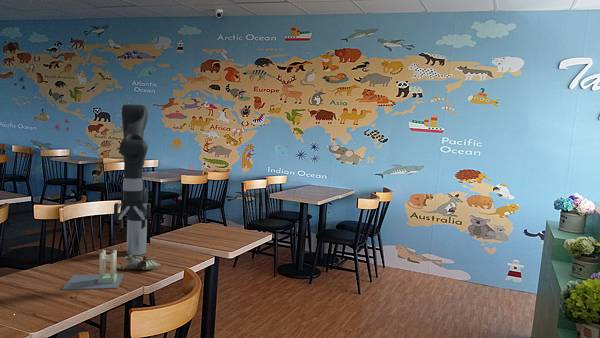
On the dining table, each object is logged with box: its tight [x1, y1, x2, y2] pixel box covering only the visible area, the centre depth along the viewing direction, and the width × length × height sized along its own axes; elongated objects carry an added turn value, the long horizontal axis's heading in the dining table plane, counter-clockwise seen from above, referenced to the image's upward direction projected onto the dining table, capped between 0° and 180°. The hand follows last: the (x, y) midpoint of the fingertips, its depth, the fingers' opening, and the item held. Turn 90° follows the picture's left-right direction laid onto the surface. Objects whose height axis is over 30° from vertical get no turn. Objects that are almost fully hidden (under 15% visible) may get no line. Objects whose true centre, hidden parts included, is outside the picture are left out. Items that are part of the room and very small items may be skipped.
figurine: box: [120, 254, 164, 271], centre depth 201 cm, size 20×6×17 cm
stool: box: [98, 249, 118, 284], centre depth 182 cm, size 6×6×12 cm
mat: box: [61, 273, 125, 291], centre depth 181 cm, size 16×20×1 cm
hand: (131, 228), depth 182 cm, fingers open, 7 cm apart
